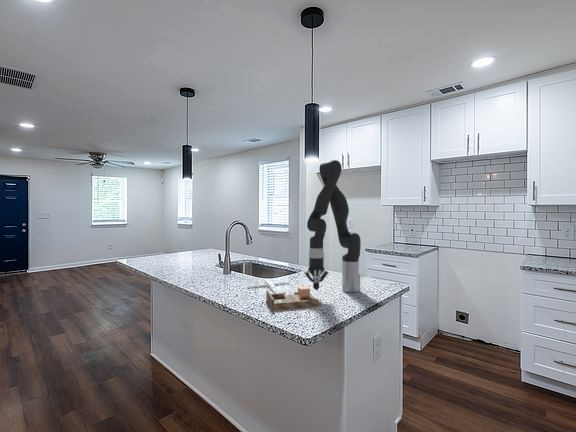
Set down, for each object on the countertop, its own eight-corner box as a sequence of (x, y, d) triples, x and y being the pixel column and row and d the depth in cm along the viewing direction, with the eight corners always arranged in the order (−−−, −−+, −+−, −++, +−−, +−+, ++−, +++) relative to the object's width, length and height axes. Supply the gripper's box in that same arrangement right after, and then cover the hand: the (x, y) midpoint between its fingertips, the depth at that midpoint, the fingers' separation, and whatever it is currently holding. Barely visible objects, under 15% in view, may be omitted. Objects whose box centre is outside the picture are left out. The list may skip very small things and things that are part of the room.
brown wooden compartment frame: (308, 296, 163) (308, 287, 163) (318, 305, 148) (318, 295, 148) (266, 300, 158) (266, 290, 158) (272, 310, 142) (272, 299, 142)
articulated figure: (258, 294, 158) (244, 279, 186) (258, 302, 159) (244, 285, 187) (305, 289, 168) (286, 275, 196) (305, 296, 168) (286, 281, 196)
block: (307, 293, 161) (307, 286, 161) (310, 296, 156) (310, 288, 156) (298, 294, 160) (297, 286, 160) (300, 297, 155) (300, 289, 155)
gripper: (325, 255, 164) (325, 287, 164) (302, 255, 161) (302, 288, 161) (330, 257, 157) (330, 290, 157) (306, 258, 154) (306, 292, 154)
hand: (316, 289), depth 159 cm, fingers closed
